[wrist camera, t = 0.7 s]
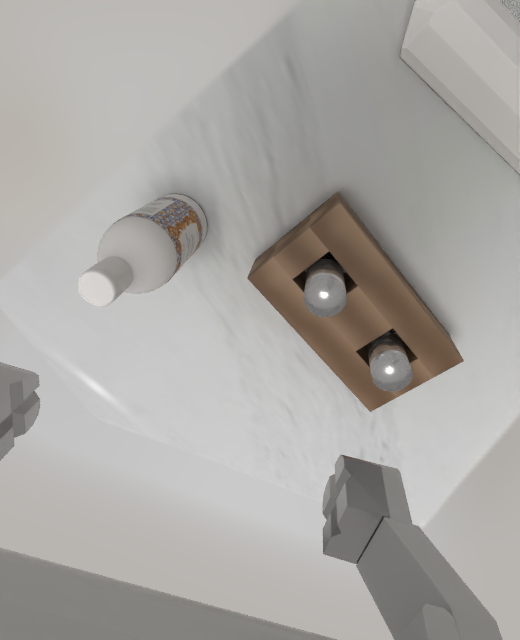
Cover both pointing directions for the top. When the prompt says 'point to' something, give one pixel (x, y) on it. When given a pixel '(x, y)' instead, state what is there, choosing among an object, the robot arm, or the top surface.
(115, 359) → the top surface
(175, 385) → the top surface
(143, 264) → the bath foam
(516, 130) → the crystal
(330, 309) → the peg
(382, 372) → the peg
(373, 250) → the brown wooden block
